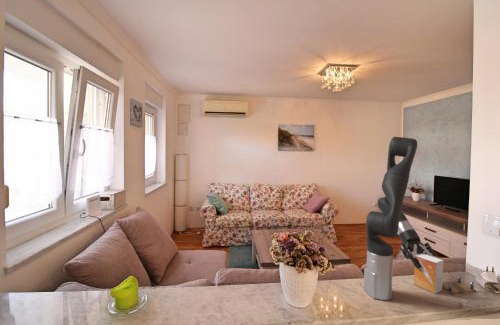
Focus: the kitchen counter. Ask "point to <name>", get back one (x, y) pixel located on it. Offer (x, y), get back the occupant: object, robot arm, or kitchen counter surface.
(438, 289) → the small box
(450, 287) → the pin plate
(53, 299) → the kitchen counter surface
